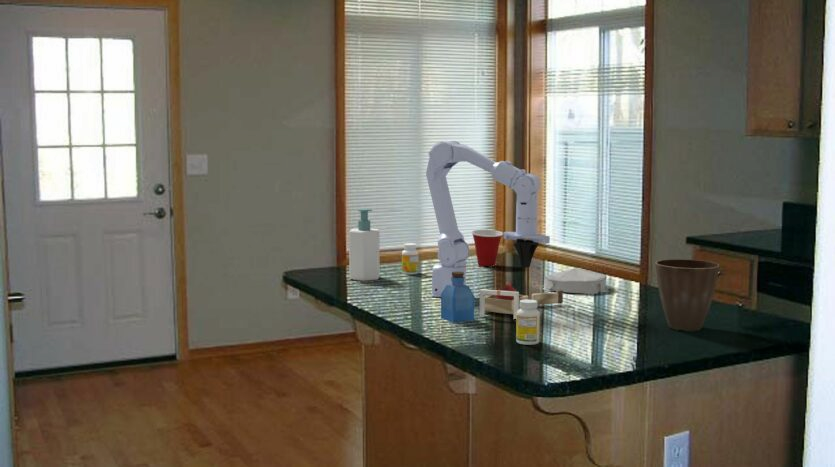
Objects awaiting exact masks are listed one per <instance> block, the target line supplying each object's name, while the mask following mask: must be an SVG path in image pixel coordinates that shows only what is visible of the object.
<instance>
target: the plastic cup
mask: <svg viewBox="0 0 835 467" xmlns="http://www.w3.org/2000/svg"><path fill="white" fill-rule="evenodd" d="M471 234H472V236H473V237H472V238H473V241H474V250H475V254H476V260H477V264H478V265H479V267H481V266H493V265H495V266H496V263H497V257H498V252H499V248H500V242H501V239H502V236H504V232H502V231H499V230H495V229H475V230H472V231H471Z"/></svg>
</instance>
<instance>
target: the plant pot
mask: <svg viewBox="0 0 835 467" xmlns="http://www.w3.org/2000/svg"><path fill="white" fill-rule="evenodd" d="M655 270H656V271H655V272H656V280H657V286H658V292H659V297H660V300H661V301H660V302H661V305H662V310H663V312H664V316H665V319H666V321H667V324H668V328H670V327H671V328H674V329H680V330H689V331H688V332H692V331H691V330H698V329H700V330H701V329H702V327H703V325H704V322H705V321H706V319H707V315H708V313H709V310H710V307H711V304H712V302H713V301H712V300H713V298H714V294H715V291H716V286H717V282H718V276H719V272H720V271H719V270H720V264H719V263H717V262H712V261H708V260H707V261H706V260H699V259H682V258H680V259H679V258H677V259H675V258H674V259H671V258H670V259H661V260H657V261H655ZM671 328H670V329H671ZM698 331H699V330H698Z"/></svg>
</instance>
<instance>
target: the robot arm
mask: <svg viewBox="0 0 835 467" xmlns="http://www.w3.org/2000/svg"><path fill="white" fill-rule="evenodd" d="M428 155H429V156H428V157H429V159H428V162H427V167H426V171H425V173H426V179H427V185H428V188H429V193H430V196H431V201H432V205H433V209H434V214H435V218H436V222H437V226H438V230H439V237H438V239H437V247H438V248H437V259H438V260H439V262H440V264H435V265H434V266H433V268H432V273H431V294H430V296H431V297H437V298H441V293H442V292H443V290H444V289H445V287H446V286H447V285H451V284H452V281H451V277H452V272H464V275H463V277H465V281H464V282H463V285H467V262H466V261H467V260H468V258H469V256H470V254H471V253H470V251H471V249H470V246H469V244H468V243H467V241H465V237H464V234H462V232H461V231H460V230H459V226H458V222H457V218H456V214H455V210H454V206H453V202H452V197H451V193H450V189H449V184H448V180H447V175H448V174H449V173H450V171H451V170H452V168H453V167H455V165H457V164H458V163H460V162H467V163H469V164H471V165H473V166H475V167H478V168H480V169H482V170H484V171H487V172H488V173H490V174H491V178H492V179H493V180H494V181H496V182H497V183H500V184H502V185H503V186H506V187H507V188H509V189H511V190H513V191H514V193H515V194H516V205H515V206H516V207H515V208H516V210H515V211H516V212H515V213H516V214H515V231H503V239H504V240H514V242H513V246H514V247H515V250H516V252H517V255H518V257H519V261H520V265H521V266H520V267H521V268H526V269H527V268H530V267H531V263H532V261H533V256H534V253H535V252H536V250H537V248H538V247H539V244H543V245H545V244H550V240H551V238H550V237H551V236H550V235H545V234H539V233H538V191H540V189H541V180H540V178H539V177H538V176H537V175H535V174H534V173H531V172H530V173H526V172H527V171H526V169H523V168H522V169H520V168H518V167H516V166H514V165H512V162H511V161H509V160H505V161H504V160H500V161H498V162H497V161H495V160H493V159H491V158H489V157H488V156H486V155H484V154H482V153H481V152H478V150H476V149H473V147H470V146H468V145H467V144H464V143H460V142H458V141H456V140H451V141H438V142H436V143H435V144H434V145H433V146H432V147H431V149H430V150H429V151H428Z"/></svg>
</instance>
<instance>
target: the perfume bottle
mask: <svg viewBox="0 0 835 467" xmlns="http://www.w3.org/2000/svg"><path fill="white" fill-rule="evenodd" d="M463 275H464V272H452V277H451V281H452V284H451V285H447V286H446V287H445V289H444V290H443V292H442V293H441V297H440V319H442V320H445V321H447V322H450V323H462V322H469V321H475V295H474V293H473V292H472V289H471V288H470V286H469V285H467V284H466V285H463V282H464V281H465V277H463Z"/></svg>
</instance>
